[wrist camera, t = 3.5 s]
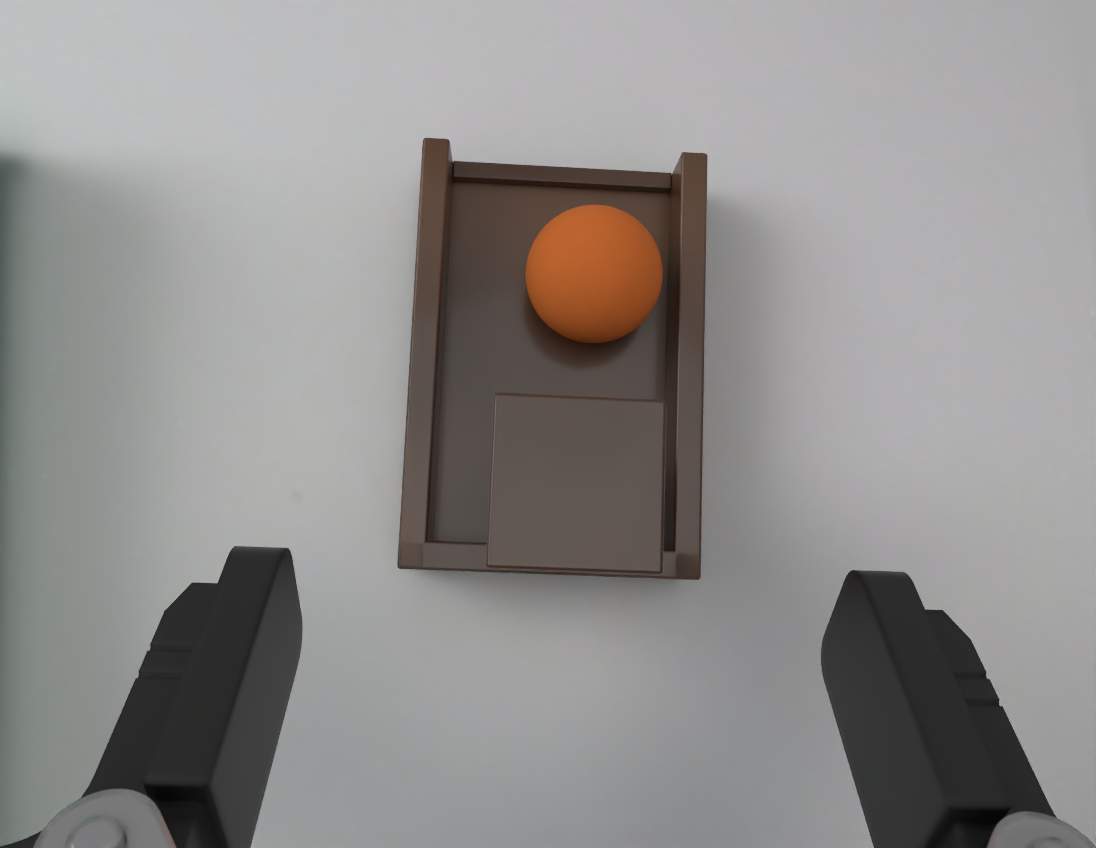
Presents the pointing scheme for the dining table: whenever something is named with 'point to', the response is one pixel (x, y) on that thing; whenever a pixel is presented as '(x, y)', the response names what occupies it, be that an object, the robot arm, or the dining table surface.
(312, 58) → the dining table surface
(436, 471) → the scoop
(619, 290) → the toy ball
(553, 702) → the dining table surface
